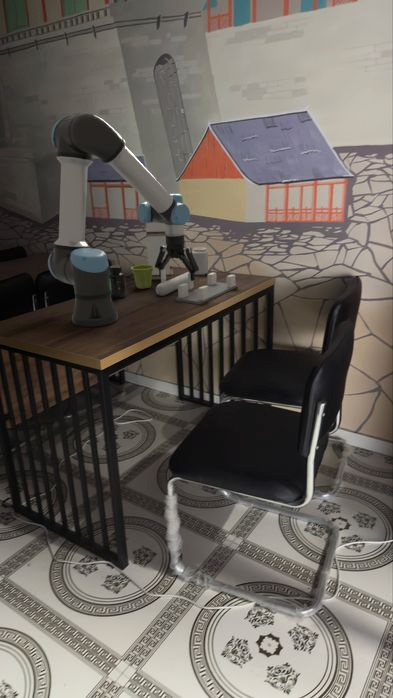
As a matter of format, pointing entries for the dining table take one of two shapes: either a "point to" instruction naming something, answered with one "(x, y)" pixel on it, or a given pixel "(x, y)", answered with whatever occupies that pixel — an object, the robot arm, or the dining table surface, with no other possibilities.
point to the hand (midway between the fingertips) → (177, 286)
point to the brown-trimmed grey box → (156, 247)
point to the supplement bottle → (117, 282)
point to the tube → (171, 284)
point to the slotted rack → (206, 290)
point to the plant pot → (143, 275)
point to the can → (201, 260)
